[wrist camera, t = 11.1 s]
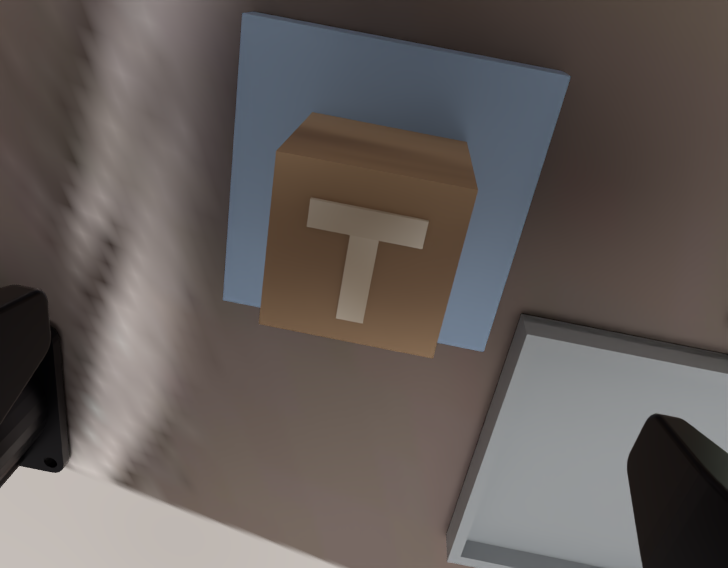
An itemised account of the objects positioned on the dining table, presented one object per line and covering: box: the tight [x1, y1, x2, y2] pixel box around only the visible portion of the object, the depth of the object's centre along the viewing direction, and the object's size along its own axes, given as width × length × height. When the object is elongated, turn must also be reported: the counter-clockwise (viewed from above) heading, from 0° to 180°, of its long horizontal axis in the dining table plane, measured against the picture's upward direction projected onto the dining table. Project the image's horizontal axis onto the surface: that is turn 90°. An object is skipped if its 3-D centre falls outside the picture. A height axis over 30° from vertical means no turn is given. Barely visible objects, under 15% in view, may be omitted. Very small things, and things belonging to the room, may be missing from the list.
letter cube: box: [259, 112, 478, 358], centre depth 14 cm, size 4×4×4 cm
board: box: [223, 11, 571, 352], centre depth 16 cm, size 8×8×1 cm
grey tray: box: [446, 314, 728, 568], centre depth 20 cm, size 10×10×1 cm
